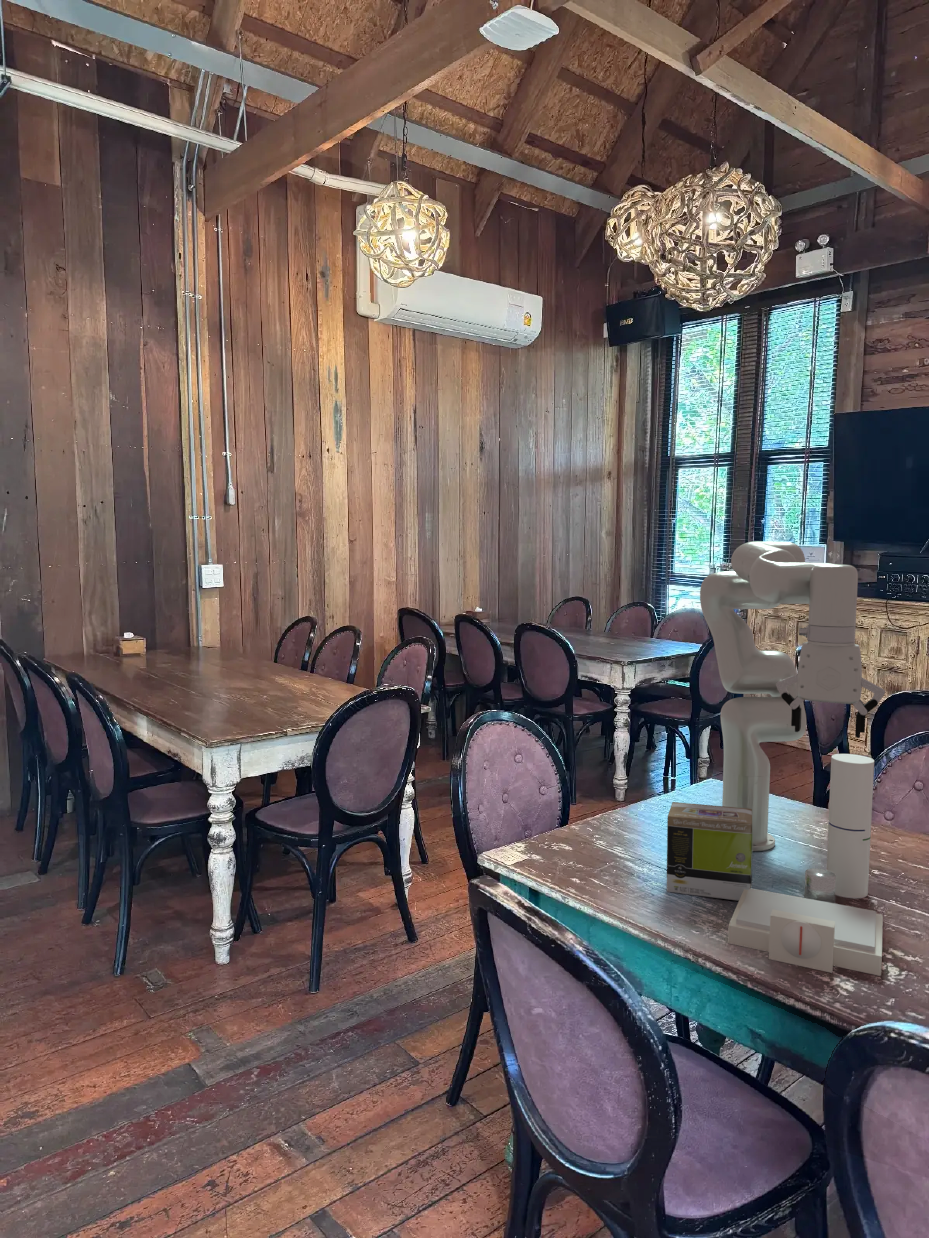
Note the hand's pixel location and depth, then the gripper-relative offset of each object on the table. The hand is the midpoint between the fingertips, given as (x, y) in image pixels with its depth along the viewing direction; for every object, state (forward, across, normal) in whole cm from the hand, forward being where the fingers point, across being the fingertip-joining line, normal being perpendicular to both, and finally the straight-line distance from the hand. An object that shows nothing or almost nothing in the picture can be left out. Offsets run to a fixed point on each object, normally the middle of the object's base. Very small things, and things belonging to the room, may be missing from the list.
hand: (827, 733), depth 144 cm
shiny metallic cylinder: (+31, 0, 0) cm, 31 cm away
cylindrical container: (+31, +4, +10) cm, 33 cm away
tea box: (+32, -19, -1) cm, 37 cm away
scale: (+31, -1, -15) cm, 35 cm away
